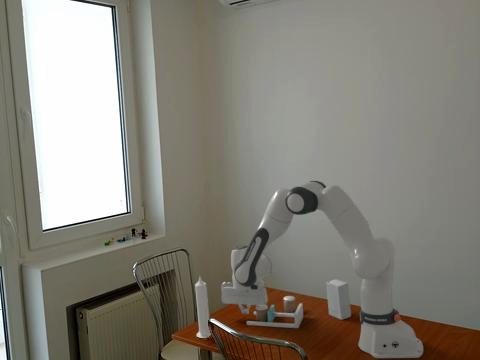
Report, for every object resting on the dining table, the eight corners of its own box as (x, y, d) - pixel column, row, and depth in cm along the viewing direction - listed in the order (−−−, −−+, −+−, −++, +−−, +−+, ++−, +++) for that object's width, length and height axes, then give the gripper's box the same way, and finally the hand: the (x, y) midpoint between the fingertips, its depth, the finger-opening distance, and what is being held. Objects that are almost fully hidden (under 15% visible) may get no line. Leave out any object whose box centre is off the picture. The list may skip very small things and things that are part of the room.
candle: (203, 330, 200) (197, 272, 197) (217, 333, 196) (212, 274, 193) (193, 337, 194) (187, 278, 191) (207, 340, 190) (202, 280, 187)
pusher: (280, 316, 207) (279, 305, 206) (275, 324, 200) (274, 312, 199) (272, 316, 208) (271, 304, 207) (268, 323, 201) (267, 311, 200)
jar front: (270, 317, 207) (269, 304, 207) (266, 323, 202) (265, 309, 202) (258, 317, 209) (257, 304, 208) (255, 322, 204) (254, 308, 203)
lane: (303, 316, 206) (302, 303, 205) (298, 328, 195) (297, 314, 194) (254, 313, 213) (253, 301, 212) (246, 324, 202) (245, 311, 201)
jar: (296, 309, 215) (296, 296, 214) (294, 313, 210) (293, 300, 209) (285, 308, 216) (284, 295, 216) (283, 312, 211) (282, 299, 211)
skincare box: (351, 316, 202) (349, 283, 200) (340, 320, 199) (338, 286, 197) (338, 310, 209) (336, 278, 207) (327, 314, 206) (325, 281, 204)
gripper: (218, 284, 206) (220, 315, 208) (263, 286, 200) (265, 317, 202) (223, 279, 212) (225, 309, 214) (267, 281, 206) (269, 311, 207)
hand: (245, 313), depth 208 cm, fingers closed
